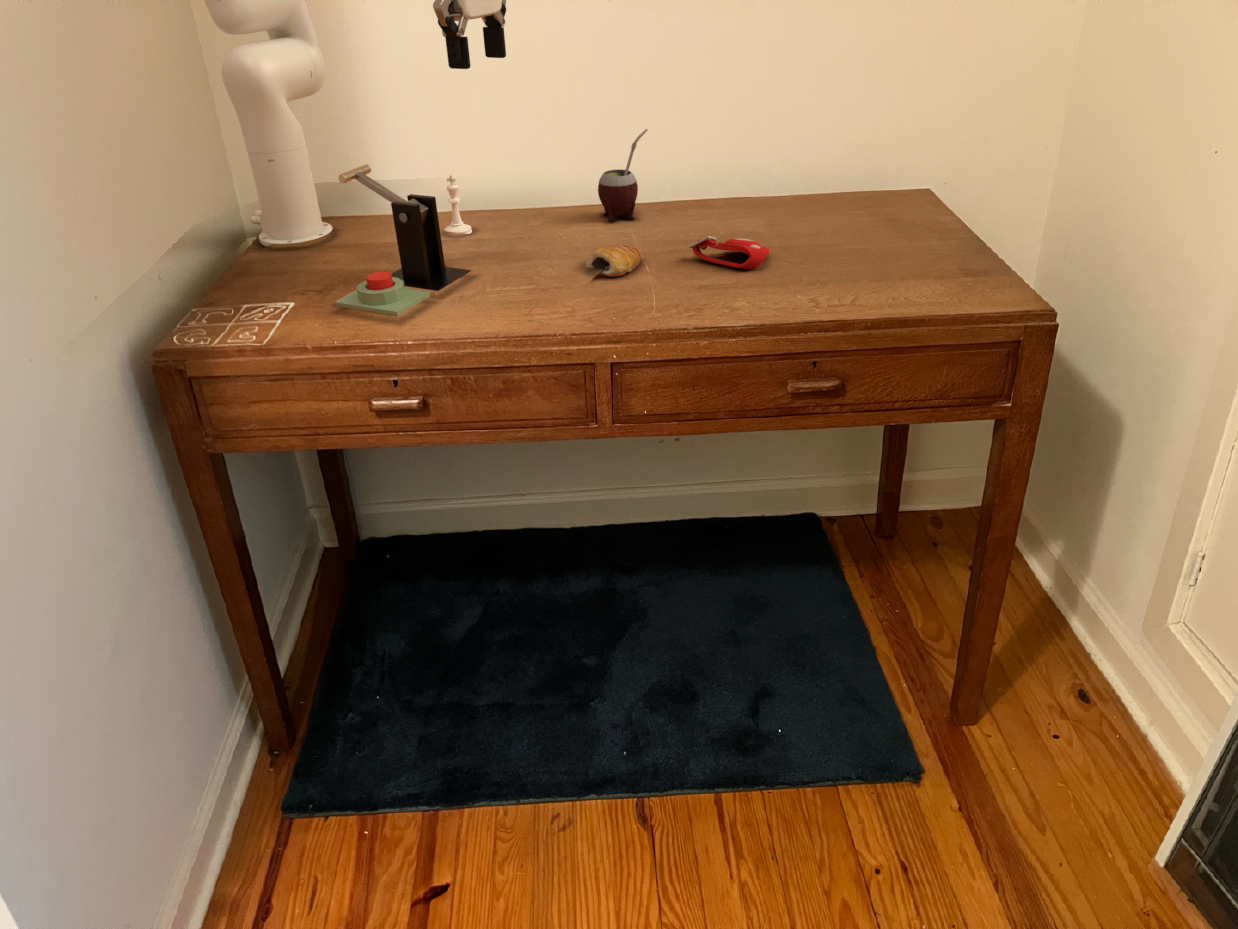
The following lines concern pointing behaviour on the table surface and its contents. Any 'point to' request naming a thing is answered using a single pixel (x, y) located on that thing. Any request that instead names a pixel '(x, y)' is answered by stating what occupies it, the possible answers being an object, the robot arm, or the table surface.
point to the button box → (383, 298)
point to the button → (379, 281)
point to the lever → (378, 187)
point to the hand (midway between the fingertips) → (478, 62)
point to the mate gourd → (619, 190)
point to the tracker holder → (740, 245)
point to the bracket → (421, 246)
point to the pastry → (614, 259)
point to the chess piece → (455, 210)
